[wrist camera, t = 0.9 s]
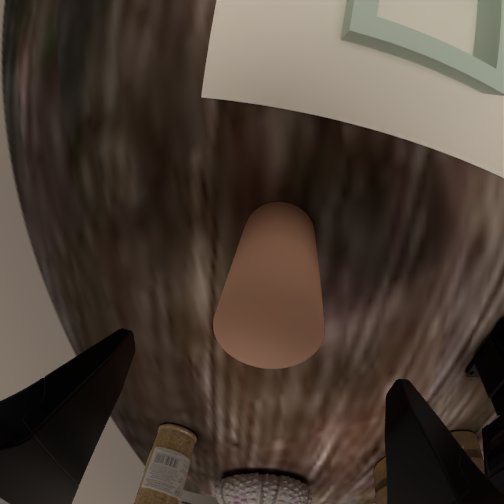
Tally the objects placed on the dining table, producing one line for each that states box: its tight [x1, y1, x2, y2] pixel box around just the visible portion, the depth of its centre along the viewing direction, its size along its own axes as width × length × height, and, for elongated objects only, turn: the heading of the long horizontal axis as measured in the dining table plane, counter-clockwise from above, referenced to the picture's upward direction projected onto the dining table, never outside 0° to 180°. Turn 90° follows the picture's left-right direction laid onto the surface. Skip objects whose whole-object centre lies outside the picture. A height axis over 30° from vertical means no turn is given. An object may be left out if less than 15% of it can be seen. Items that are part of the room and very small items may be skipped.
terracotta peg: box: [213, 202, 325, 369], centre depth 15 cm, size 4×4×8 cm
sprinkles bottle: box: [134, 424, 197, 504], centre depth 25 cm, size 5×5×13 cm
